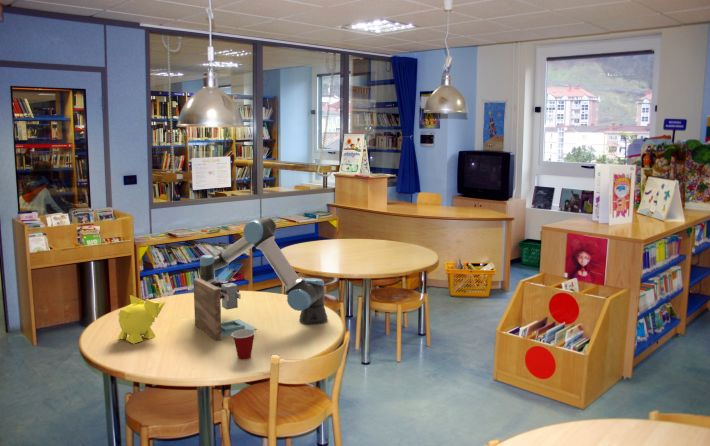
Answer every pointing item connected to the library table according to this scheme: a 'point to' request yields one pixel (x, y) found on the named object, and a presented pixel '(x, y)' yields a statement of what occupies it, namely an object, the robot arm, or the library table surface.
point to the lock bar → (230, 296)
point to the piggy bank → (138, 319)
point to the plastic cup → (243, 342)
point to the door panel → (207, 308)
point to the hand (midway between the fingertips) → (233, 297)
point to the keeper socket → (234, 327)
